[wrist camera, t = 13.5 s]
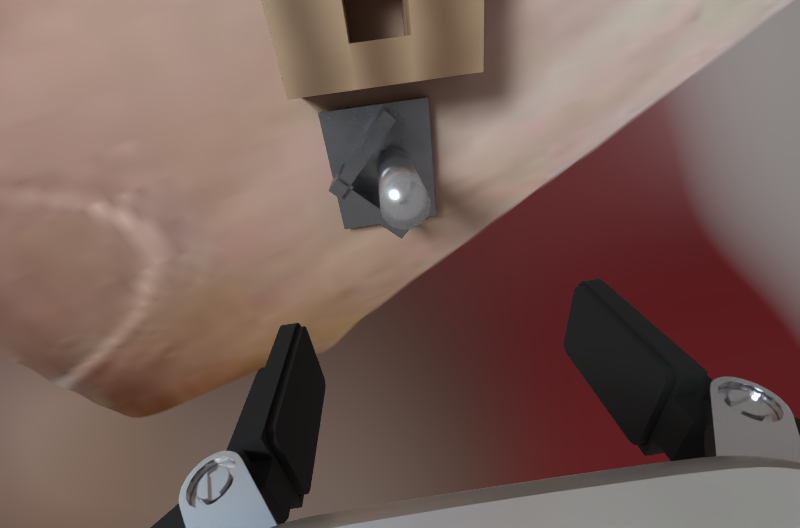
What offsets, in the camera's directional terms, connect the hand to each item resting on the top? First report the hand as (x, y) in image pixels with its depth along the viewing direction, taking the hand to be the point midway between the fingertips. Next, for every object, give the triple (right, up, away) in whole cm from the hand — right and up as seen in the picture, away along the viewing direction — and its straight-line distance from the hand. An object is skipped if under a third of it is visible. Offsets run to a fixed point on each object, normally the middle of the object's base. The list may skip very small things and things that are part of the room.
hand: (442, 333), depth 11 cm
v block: (-3, +13, +23) cm, 26 cm away
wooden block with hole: (-4, +24, +16) cm, 29 cm away
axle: (-2, +13, +22) cm, 25 cm away
